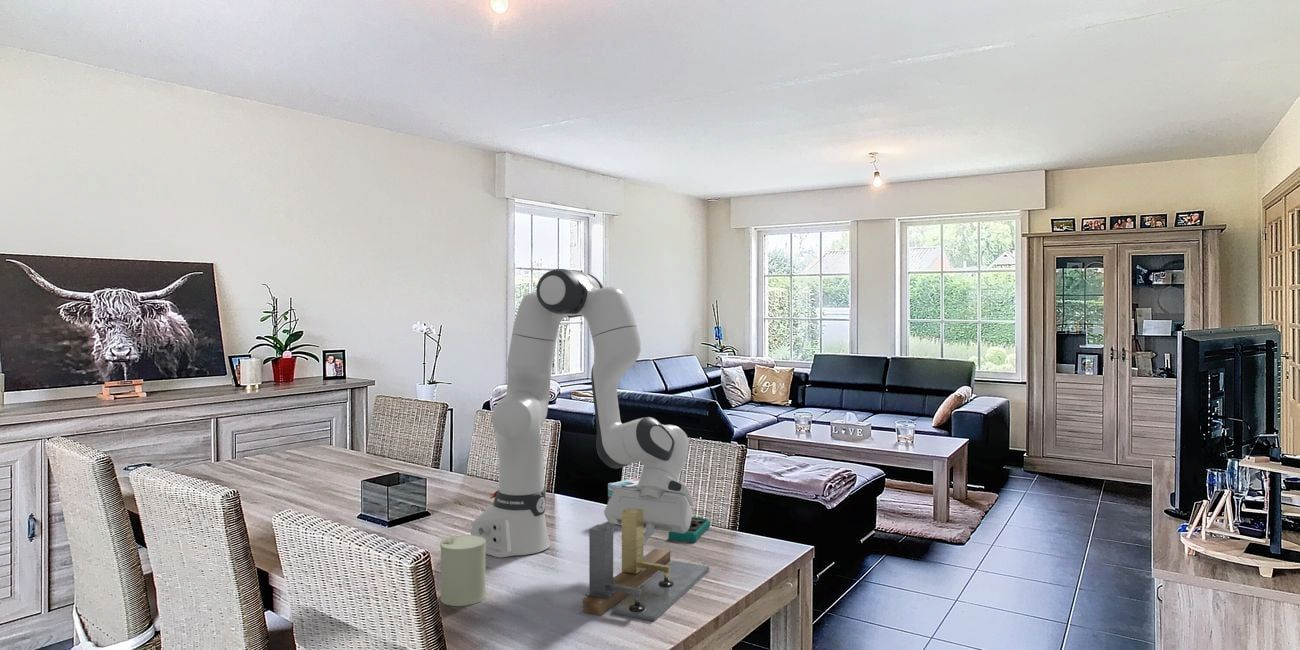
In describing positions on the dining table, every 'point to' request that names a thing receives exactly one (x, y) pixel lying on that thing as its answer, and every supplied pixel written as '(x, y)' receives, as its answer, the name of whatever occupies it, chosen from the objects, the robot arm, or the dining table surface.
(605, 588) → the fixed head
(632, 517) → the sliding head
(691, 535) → the digital multimeter
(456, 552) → the can
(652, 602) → the hole plate
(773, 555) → the dining table surface
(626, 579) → the rail
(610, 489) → the light bulb box
